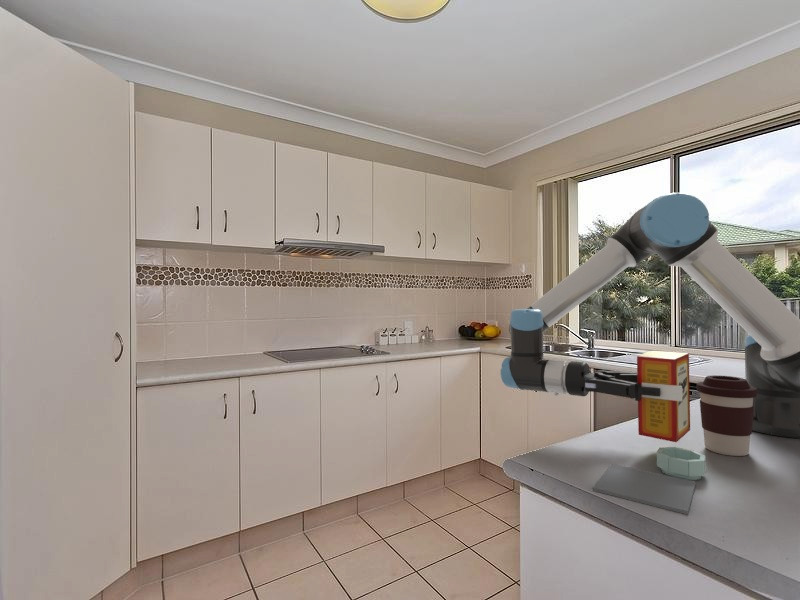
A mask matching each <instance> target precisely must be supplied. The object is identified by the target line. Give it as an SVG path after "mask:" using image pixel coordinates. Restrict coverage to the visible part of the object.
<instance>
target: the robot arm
mask: <svg viewBox="0 0 800 600" xmlns="http://www.w3.org/2000/svg"><path fill="white" fill-rule="evenodd" d="M718 233H719V230H718V228H717V227H715V225H714V224H712V223H711V221H710V212H709V210H708V208H707V206H706V204H705V203H704V202H703V201H702V200H700V199H699V198H698V197H696V196H695V195H691V194H689V193H684V192H672V193H668V194H665V195H661V196H658V197H657V198H654V199H652V200H651V201H650V202H648V203H647V204H646V205H644V206H643V207H641V208H640V209H638V210H637V211H636V212H635V213H633V215H632V216H631V217H630V218H628V220H627V221H626V222H625V223H624V224H623V225H621V227H619V229H618V230H617V231H616V232H615V233H614V234H613V235H611V236H610V237H609V238H608V239H607V241H606V245H604V247H603V248H601V249H600V250H599V251H597V252H596V253H595V254H594V255H592V256H591V257H589V258H588V259H587V260H585V262H584V263H582V264H581V265H580V266H579V267H577V268H576V269H575V270H573V271H572V272H571V273H570V274H569V275H567V276H565V278H563V279H562V280H561V281H560V282H559V283H557V284H556V285H555V286H554V287H552V288H550V290H549V291H547V292H546V293H545V294H543V295H542V296H541V297H540V298H538V299H537V300H536V301H534V302H533V303H532V304H530V306H529V307H527V308H516V309H512V310H511V311H510V320H509V325H508V326H509V327H508V331H509V334H510V348H511V349H510V350H511V352H510V356H507V357H505V358H504V359H503V361H502V362H501V368H500V379H501V382H502V383H503V385H505V386H506V387H508V388H513V389H518V390H521V391H532V392H533V391H535V392H543V393H544V392H545V393H553V394H554V396H559V395H561V394H562V395H566V394H568V395H570V396H577V397H586V396H588V395H589V393H590V392H592V393H600V394H604V395H605V394H606V395H611V396H617V397H623V398H628V399H635V400H634V401H637V402H638V401H641V395H642V397H646V398H655V399H664V400H674V401H682V386H676V385H665V384H654V383H643V382H642V386H641V384H639V383H637V371H635V372H634V371H612V370H609V371H608V370H605V369H602V370H600V369H599V370H596V371H594V372H592V371H591V370H590V369H591V368H590V365H589V364H588V363H587V362H585V361H583V362H582V361H574V360H573V361H571V360H570V362H569V361H568V360H562V359H544V333H545V332H546V331H547V330H548V329H549V328H550V327H552V326H553V325H554V324H556V323H557V322H559V321H560V320H561V319H562V318H563V317H565V316H566V315H567V314H568V313H570V312H571V311H572V310H574V309H576V308H577V306H579V305H580V304H582V302H583V303H584V301H586V300H587V299H588V298H589V297H590V296H592V295H594V294H595V293H596V292H597V291H598V290H600V289H601V288H602V287H603V286H605V285H606V284H608V283H609V282H611V280H613V279H614V278H615V277H616V276H618V275H619V274H620V273H622V272H624V271H625V270H626V269H627V268H628V267H630V268H635V267H636V266H637V265H639V264H640V263H641V262H643V261H644V260H646V259H648V258H649V257H652V256H655V255H657V256H658V257H659V258H661V260H662V261H664V262H665V264H667V266H669V267H679V268H681V269H683V271H684V272H685V273H686V274H687V275H688V276H689V277H690V278H691V279H692V280H693V281H694V282H696V284H698V286H699V287H701V289H703V291H705V292H706V293H707V294H708V295H709V296H710V297H711V298H712V299H713V300H714V302H715V303H716V304H718V305H719V306H720V307H721V309H723V311H725V312H726V313H727V314H728V315H729V316H730V318H732V319H733V321H735V322H736V323H737V324H738V325H739V326H740V327H741V328H742V329H743V330H744V331H745V332H746V333H747V334H748V335H747V336H746V337H745V343H744V348H743V349H744V362H745V364H744V365H745V368H744V369H745V371H744V372H745V376H744V378H745V379H746V380H747V382H748V384H749V386H752V387H755V388H756V389H757V396H756V397H754V398H753V406H754V413H753V425H752V432H756V433H757V432H758V433H762V434H766V435H772V436H778V437H783V438H784V437H786V438H797V439H798V438H799V439H800V318H799V317H798V316H797V315H796V314H794V312H792V310H791V309H790V308H788V307H787V306H786V305H785V304H784V303H783V302H782V301H781V300H780V299H779V298H778V296H776V295H775V294H774V293H773V292H772V291H771V290H770V289H768V288H767V287H766V286H765V285H764V284H763V283H762V282H761V281H760V280H759V278H757V277H756V275H754V274H753V273H752V272H751V271H750V270H749V269H747V268H746V267H745V266H744V265H743V264H742V262H740V261H739V260H738V259H737V258H736V257H735V256H734V255H733V254H732V253H731V252H730V251H729V250H728V249H727V248H726V247H724V245H722V243H720V242H719V240H718Z"/></svg>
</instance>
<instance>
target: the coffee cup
mask: <svg viewBox="0 0 800 600" xmlns="http://www.w3.org/2000/svg"><path fill="white" fill-rule="evenodd" d="M696 390H697V392H698V393H700V399H699V408H700V417H701V418H700V419H701V427H702V429H703V440H704V441H703V442H704V447H705V448H706V449H707V450H708V451H711V452H713V453H716V454H720V455H723V456H724V455H725V456H731V457H745V456H747V455H748V454H749V453H750V442H751V435H752V434H753V430H752V425H753V413H754V406H753V398H754V397H756V396H757V389H756V388H755V387H752V386H749V384H748V382H747V380H746V378H743V377H737V376H732V375H731V376H730V375H713V374H712V375H707V376H705V378H704V380H703V381H699V382H697V383H696Z"/></svg>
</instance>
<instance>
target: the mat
mask: <svg viewBox="0 0 800 600" xmlns="http://www.w3.org/2000/svg"><path fill="white" fill-rule="evenodd" d="M696 484H697V481H696V480H686V479H681V478H677V477H672V476H668V475H666V474H661V473H657V472H652V471H649V470H643V469H639V468H638V469H637V468H633V467H628V466H625V465H624V466H623V465H620V464H615V463H611V464H610V465H609V466H608V468H607V469H606V470H605V471H604V473H603V474H602V475H601V476H600V478H599V479H598V481H597V482H596V483H595V484H594V485H593V486H592V491H594V492H598V493H601V494H605V495H610V496H612V497H617V498H620V499H625V500H627V501H633V502H637V503H639V504H644V505H648V506H652V507H656V508H661V509H664V510H668V511H672V512H675V513H679V514H684V515H689V512H690V510H691V509H690V508H691V504H692V501H693V496H694V493H695V490H694V489H696V486H695V485H696Z"/></svg>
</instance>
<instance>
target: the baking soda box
mask: <svg viewBox="0 0 800 600" xmlns="http://www.w3.org/2000/svg"><path fill="white" fill-rule="evenodd" d="M636 370H637V371H636V372H637V383H639V384H641V386H642V382H643V383H654V384H665V385H676V386H682V401H674V400H664V399H655V398H646V397H642V395H641V401H637V420H638V421H637V422H638V425H637V426H638V427H637V428H638V435H639V436H642V437H643V436H644V437H647V438H654V439H658V440H661V441H662V440H663V441H667V442H668V441H669V442H673V443H678V442H679V441H680V440H681V439H682V438H683V437H684V436H686V435H687V433H688V432H690V431H691V407H690V406H691V403H690V402H691V401H690V397H691V396H690V392H691V391H690V353H689V352H678V351H676V352H675V351H664V350H663V351H662V350H651V351H646V352H644V353H641V354H639V355H637V356H636Z"/></svg>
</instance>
